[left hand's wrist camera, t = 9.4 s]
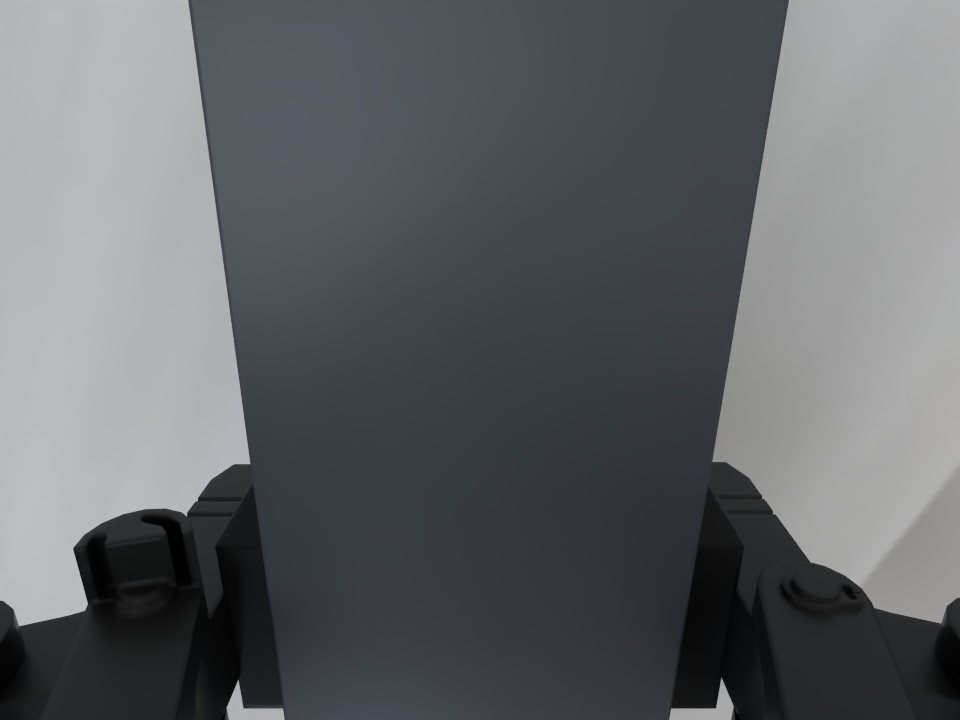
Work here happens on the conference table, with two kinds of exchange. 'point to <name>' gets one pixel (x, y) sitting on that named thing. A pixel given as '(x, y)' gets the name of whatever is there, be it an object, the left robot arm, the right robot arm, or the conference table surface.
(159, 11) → the conference table surface
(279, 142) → the beam
